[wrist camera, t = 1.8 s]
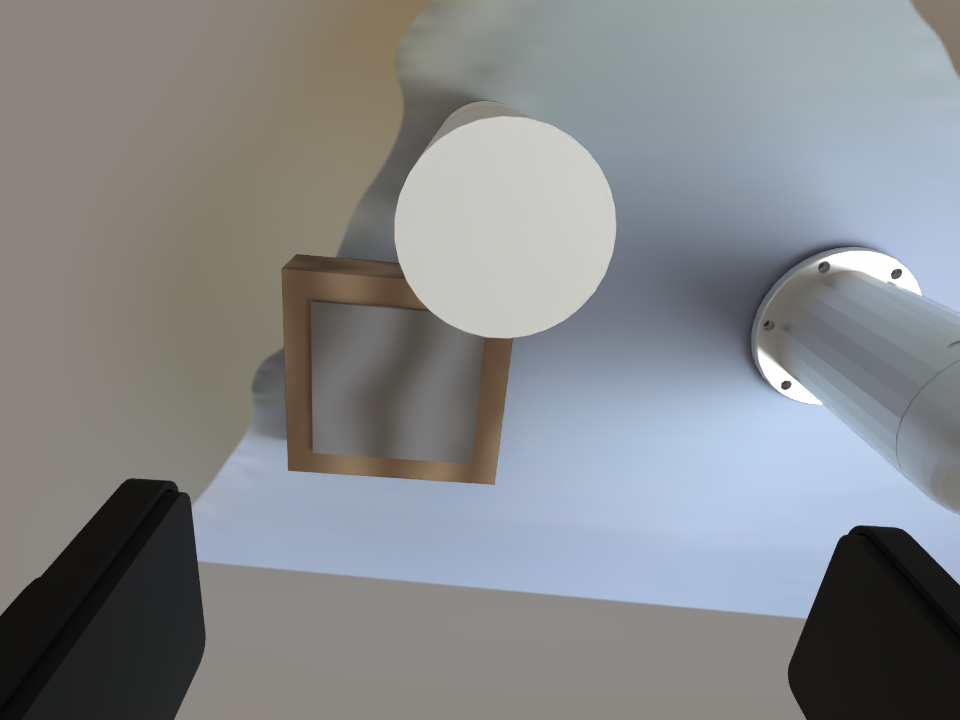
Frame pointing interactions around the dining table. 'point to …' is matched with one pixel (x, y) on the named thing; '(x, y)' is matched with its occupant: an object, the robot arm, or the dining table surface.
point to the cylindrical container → (504, 223)
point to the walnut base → (385, 378)
